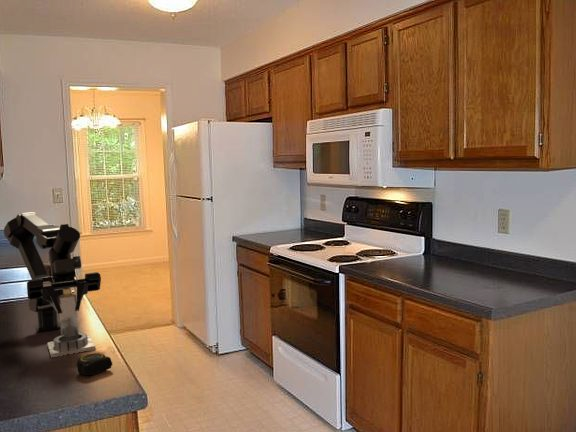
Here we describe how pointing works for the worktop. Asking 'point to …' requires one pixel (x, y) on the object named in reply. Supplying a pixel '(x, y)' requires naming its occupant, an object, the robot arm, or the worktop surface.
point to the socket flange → (70, 345)
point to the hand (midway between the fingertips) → (68, 311)
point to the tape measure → (93, 363)
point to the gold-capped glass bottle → (68, 313)
